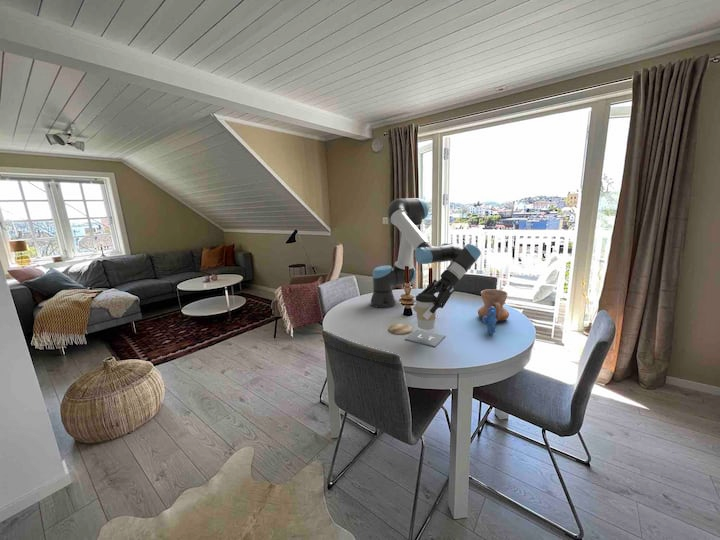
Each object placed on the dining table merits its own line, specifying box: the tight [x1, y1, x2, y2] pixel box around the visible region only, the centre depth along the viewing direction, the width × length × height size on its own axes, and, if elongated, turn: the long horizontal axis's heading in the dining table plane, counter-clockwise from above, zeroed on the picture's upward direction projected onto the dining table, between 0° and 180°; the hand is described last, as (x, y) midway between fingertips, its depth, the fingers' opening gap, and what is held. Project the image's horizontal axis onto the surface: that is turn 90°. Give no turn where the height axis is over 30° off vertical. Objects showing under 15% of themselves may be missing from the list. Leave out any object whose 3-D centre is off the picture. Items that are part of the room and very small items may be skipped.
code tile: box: [404, 329, 446, 348], centre depth 130 cm, size 14×12×1 cm
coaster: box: [388, 323, 413, 335], centre depth 141 cm, size 11×11×1 cm
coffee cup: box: [415, 292, 437, 331], centre depth 127 cm, size 9×9×15 cm
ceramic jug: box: [477, 288, 510, 322], centre depth 148 cm, size 18×14×14 cm
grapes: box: [481, 306, 499, 335], centre depth 133 cm, size 12×7×12 cm, turn 157°
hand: (419, 313), depth 127 cm, fingers closed on coffee cup, 9 cm apart
